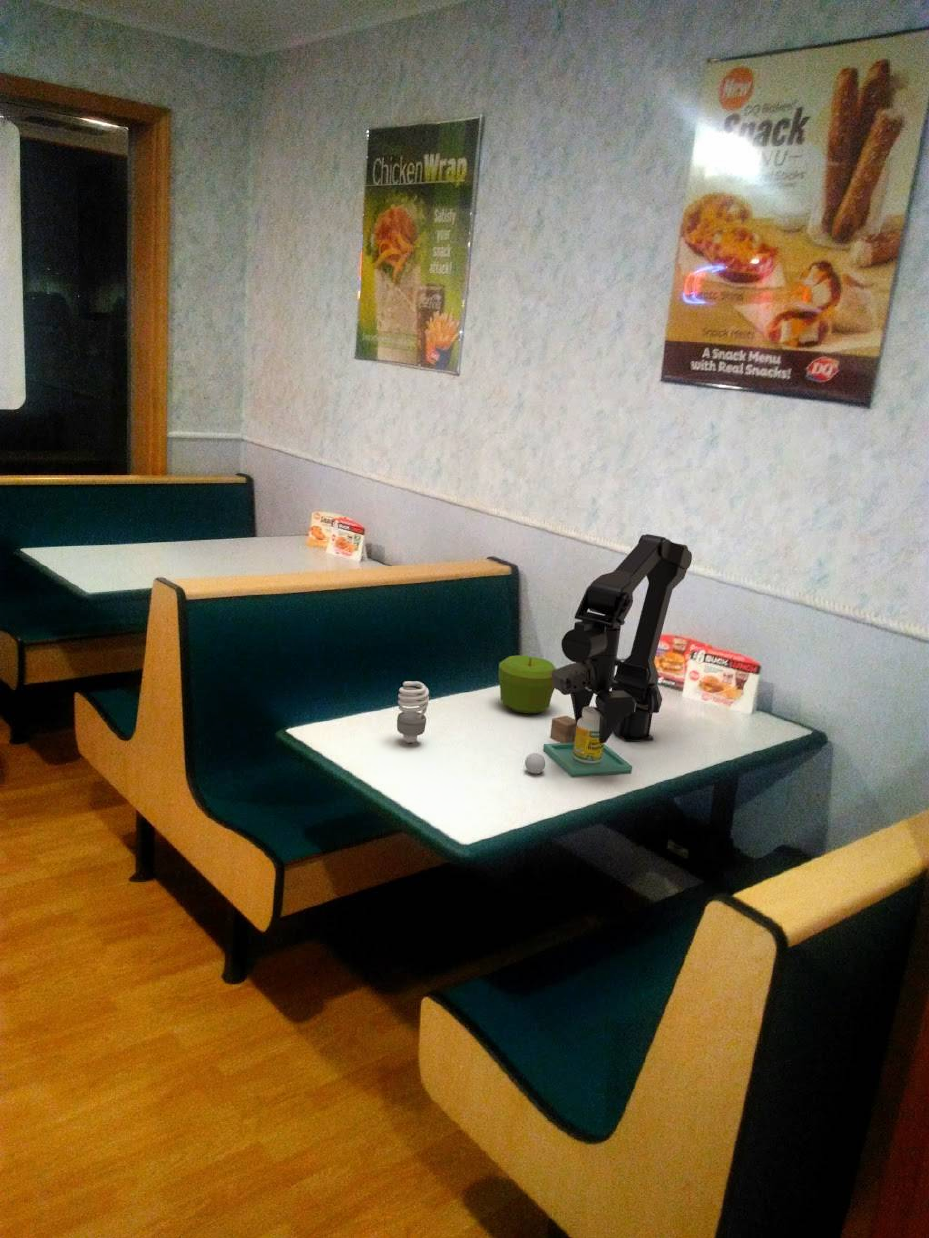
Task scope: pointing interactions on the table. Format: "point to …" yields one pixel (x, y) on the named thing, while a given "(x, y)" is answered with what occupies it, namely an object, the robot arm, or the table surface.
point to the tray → (574, 768)
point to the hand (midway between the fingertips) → (590, 733)
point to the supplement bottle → (588, 737)
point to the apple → (526, 683)
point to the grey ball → (535, 763)
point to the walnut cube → (563, 729)
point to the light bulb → (412, 710)
